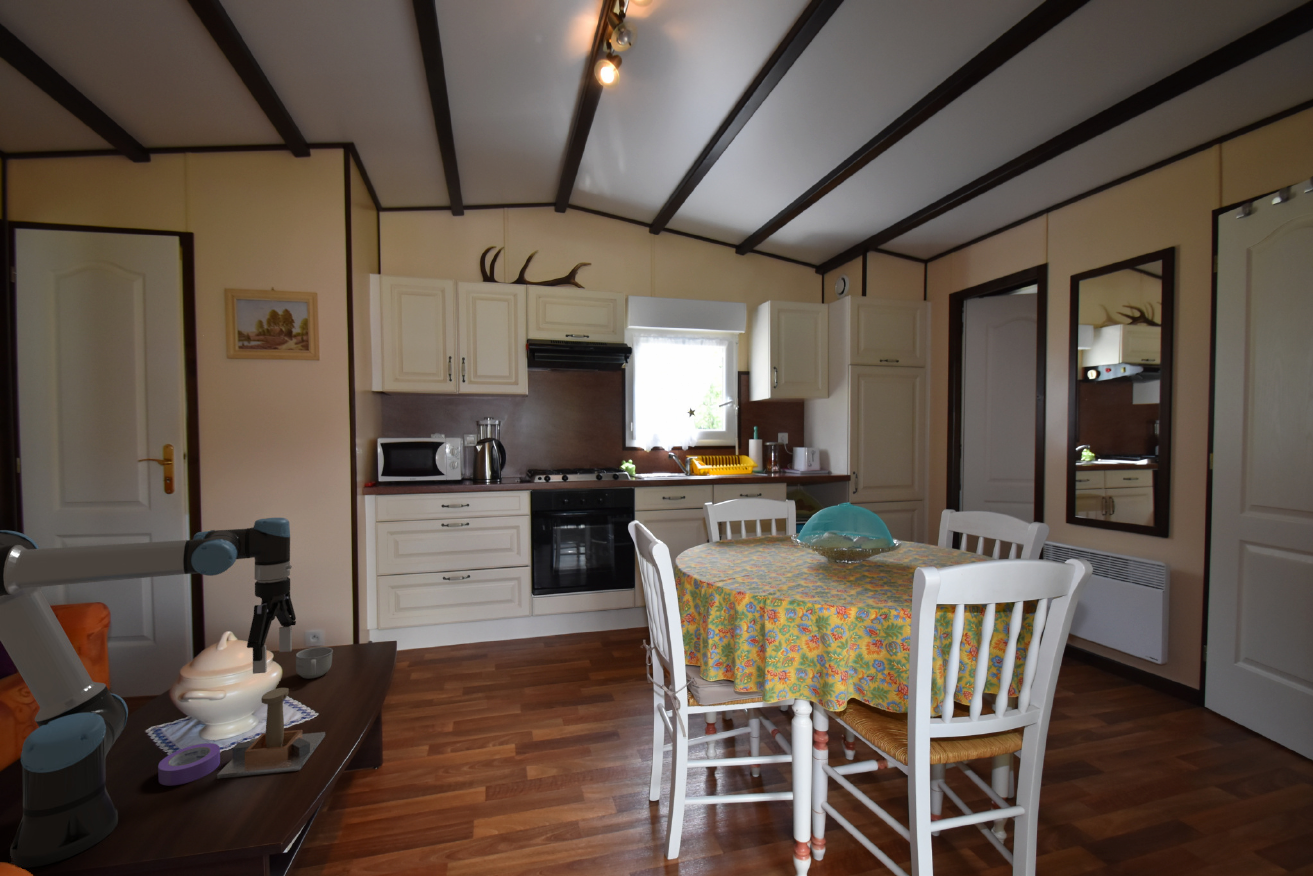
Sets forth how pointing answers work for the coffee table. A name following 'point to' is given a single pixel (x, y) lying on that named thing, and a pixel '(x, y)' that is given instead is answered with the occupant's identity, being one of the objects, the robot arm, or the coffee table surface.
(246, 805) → the coffee table surface
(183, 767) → the masking tape
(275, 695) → the handle
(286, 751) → the coupling base
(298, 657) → the teacup
